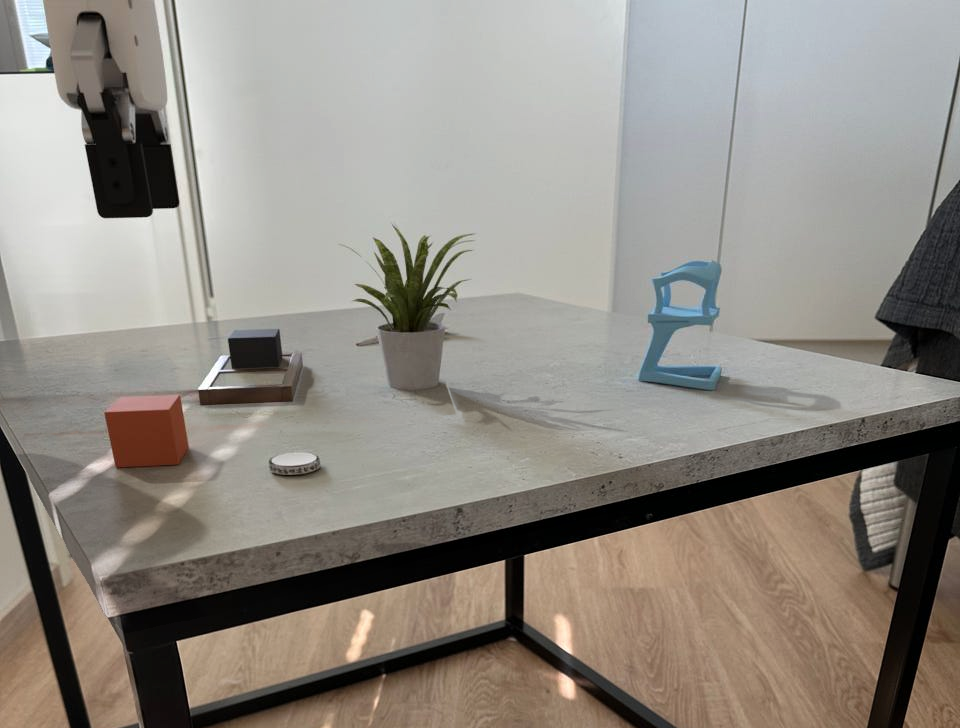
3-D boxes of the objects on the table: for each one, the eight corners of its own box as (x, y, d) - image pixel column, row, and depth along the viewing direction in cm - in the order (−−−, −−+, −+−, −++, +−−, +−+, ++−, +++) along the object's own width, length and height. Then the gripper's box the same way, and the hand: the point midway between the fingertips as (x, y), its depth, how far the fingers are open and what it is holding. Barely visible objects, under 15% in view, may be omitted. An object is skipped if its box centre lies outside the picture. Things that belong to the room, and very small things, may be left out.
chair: (646, 370, 103) (654, 255, 98) (722, 374, 101) (734, 256, 95) (632, 385, 97) (640, 263, 91) (713, 390, 94) (726, 265, 89)
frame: (200, 410, 90) (197, 389, 89) (223, 373, 105) (221, 355, 104) (293, 406, 91) (291, 385, 90) (303, 370, 106) (301, 352, 105)
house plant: (516, 381, 100) (516, 215, 92) (452, 410, 89) (447, 225, 81) (404, 369, 106) (396, 212, 98) (332, 395, 95) (316, 221, 87)
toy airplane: (335, 346, 119) (333, 327, 118) (444, 323, 133) (443, 306, 132) (377, 353, 114) (376, 333, 113) (485, 328, 128) (484, 311, 127)
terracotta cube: (115, 467, 74) (103, 412, 72) (129, 450, 79) (118, 397, 77) (178, 464, 75) (169, 409, 73) (189, 447, 79) (180, 394, 77)
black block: (233, 381, 99) (227, 338, 97) (239, 371, 103) (233, 330, 101) (280, 379, 100) (275, 336, 97) (284, 370, 104) (279, 328, 102)
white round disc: (321, 472, 72) (321, 464, 72) (269, 476, 71) (268, 468, 71) (318, 457, 75) (318, 449, 75) (269, 461, 75) (268, 453, 74)
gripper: (61, -83, 60) (114, 207, 68) (-39, -161, 45) (45, 223, 53) (178, -82, 61) (217, 204, 69) (120, -158, 46) (178, 220, 54)
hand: (142, 212), depth 61 cm, fingers open, 9 cm apart
